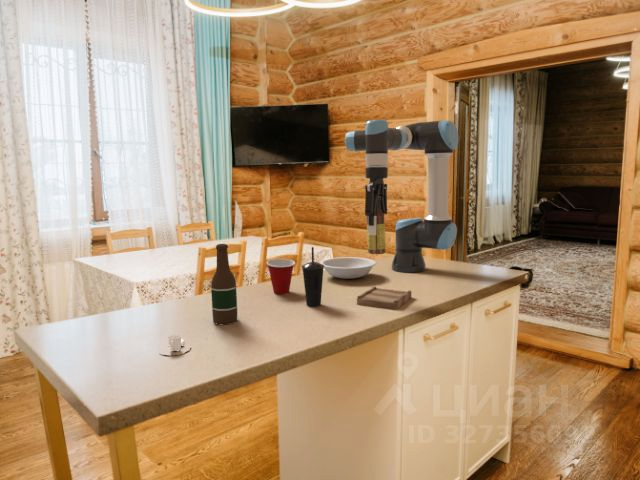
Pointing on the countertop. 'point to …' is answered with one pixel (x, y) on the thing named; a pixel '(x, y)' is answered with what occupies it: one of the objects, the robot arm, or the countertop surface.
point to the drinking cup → (313, 282)
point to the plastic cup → (280, 274)
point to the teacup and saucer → (175, 342)
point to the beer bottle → (223, 289)
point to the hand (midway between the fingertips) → (376, 233)
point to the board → (383, 298)
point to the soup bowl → (348, 267)
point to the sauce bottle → (377, 232)
